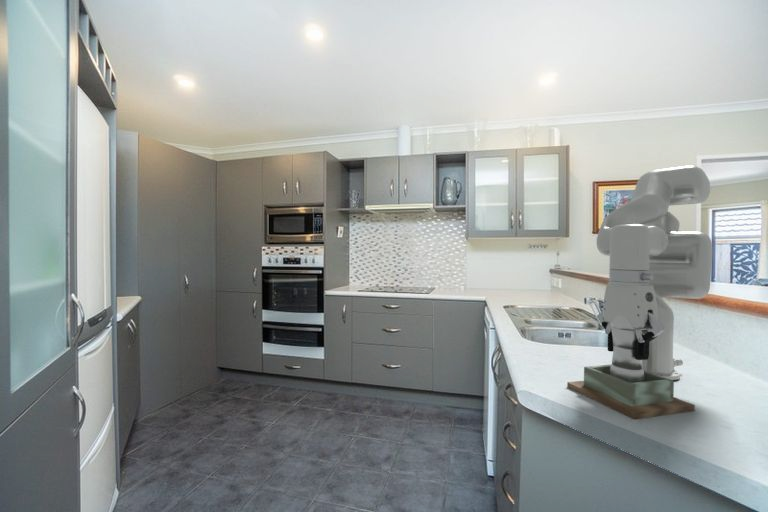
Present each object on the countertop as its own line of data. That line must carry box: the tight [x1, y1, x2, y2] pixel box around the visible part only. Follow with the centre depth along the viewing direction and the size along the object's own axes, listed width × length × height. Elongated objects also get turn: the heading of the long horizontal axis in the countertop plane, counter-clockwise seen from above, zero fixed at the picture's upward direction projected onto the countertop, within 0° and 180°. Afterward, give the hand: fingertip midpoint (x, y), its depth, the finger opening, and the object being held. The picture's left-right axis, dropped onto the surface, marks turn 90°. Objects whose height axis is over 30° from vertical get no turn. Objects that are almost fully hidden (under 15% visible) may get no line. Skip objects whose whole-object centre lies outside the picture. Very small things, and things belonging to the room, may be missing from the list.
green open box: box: [566, 364, 696, 420], centre depth 78 cm, size 17×17×6 cm
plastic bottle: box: [610, 315, 645, 383], centre depth 78 cm, size 6×7×20 cm
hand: (627, 354), depth 78 cm, fingers closed on plastic bottle, 6 cm apart
